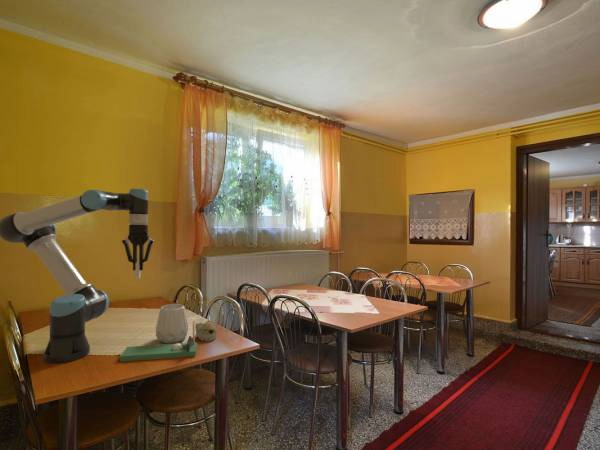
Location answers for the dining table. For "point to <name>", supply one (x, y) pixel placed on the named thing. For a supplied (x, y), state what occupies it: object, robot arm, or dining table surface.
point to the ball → (177, 347)
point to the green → (160, 351)
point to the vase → (172, 324)
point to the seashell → (206, 331)
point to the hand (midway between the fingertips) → (137, 277)
